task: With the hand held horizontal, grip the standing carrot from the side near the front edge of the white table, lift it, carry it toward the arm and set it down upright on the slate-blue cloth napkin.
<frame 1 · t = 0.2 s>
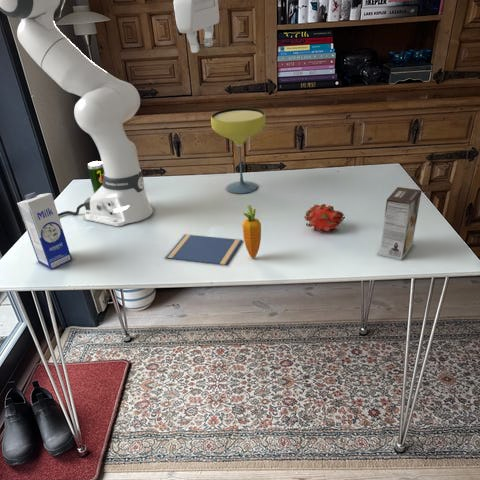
hand: (202, 49, 121), 48 cm above the table, tool pointing down, fingers open, 8 cm apart
carrot: (253, 259, 131), on the table
napkin: (204, 249, 136), on the table
milk carton: (55, 261, 136), on the table
coffee box: (395, 251, 130), on the table
beer can: (102, 197, 173), on the table
cocktail glass: (242, 188, 172), on the table
dragon fruit: (324, 229, 142), on the table
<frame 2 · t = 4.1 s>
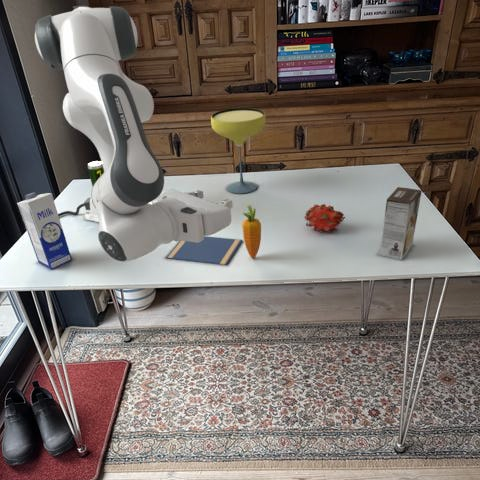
hand: (215, 198, 111), 22 cm above the table, tool horizontal, fingers open, 8 cm apart
nothing on the table moved.
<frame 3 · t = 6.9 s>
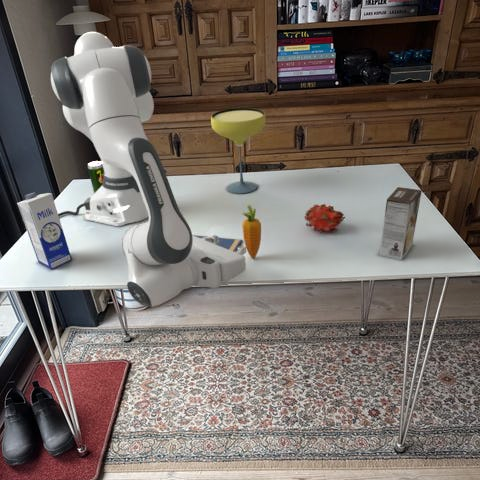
hand: (230, 243, 121), 8 cm above the table, tool horizontal, fingers open, 8 cm apart
nothing on the table moved.
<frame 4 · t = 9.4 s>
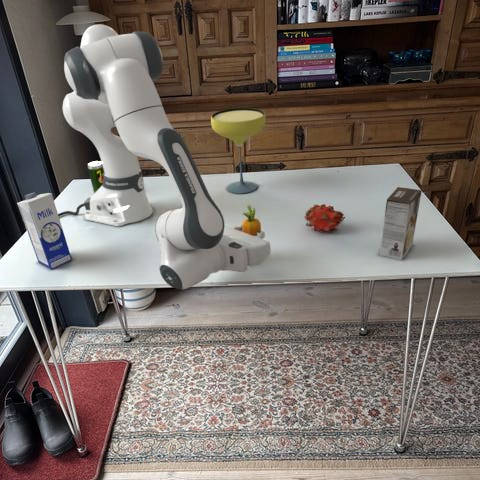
hand: (254, 230, 126), 8 cm above the table, tool horizontal, fingers closed on carrot, 5 cm apart
carrot: (253, 259, 131), on the table, touching gripper
everything else where it was.
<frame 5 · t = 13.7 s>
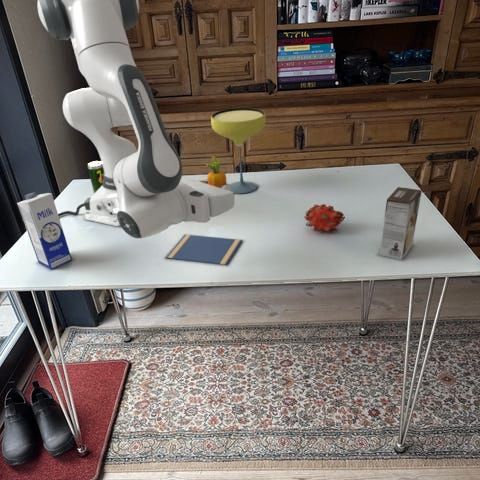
hand: (219, 184, 123), 20 cm above the table, tool horizontal, fingers closed on carrot, 5 cm apart
carrot: (220, 214, 127), point 12 cm above the table, touching gripper
everything else where it was.
when the fingers open (8 cm above the table, at t = 18.2 s): carrot stays where it is, resting on napkin.
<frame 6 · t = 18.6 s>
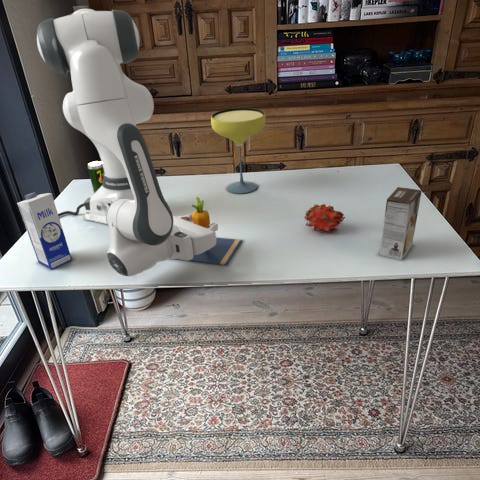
hand: (204, 221, 132), 8 cm above the table, tool horizontal, fingers open, 8 cm apart
carrot: (204, 249, 136), resting on napkin
everything else where it was.
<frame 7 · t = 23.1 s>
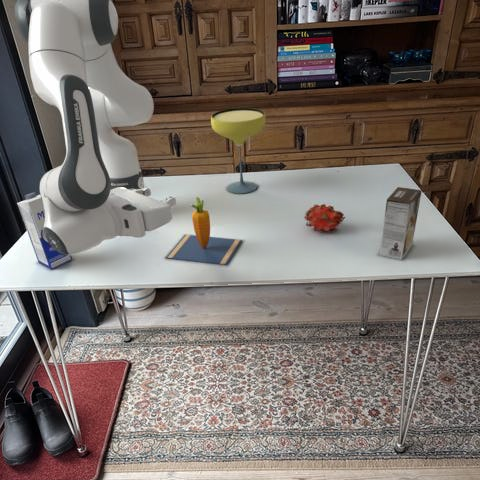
hand: (161, 195, 117), 20 cm above the table, tool horizontal, fingers open, 8 cm apart
nothing on the table moved.
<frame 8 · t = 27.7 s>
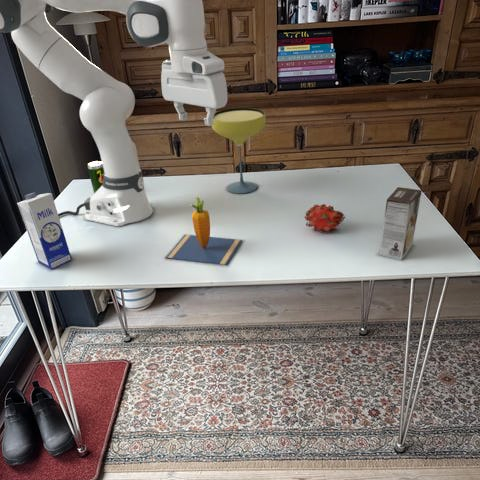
hand: (196, 122, 121), 33 cm above the table, tool pointing down, fingers open, 8 cm apart
nothing on the table moved.
at the end: carrot inside the target area on the napkin (0.2 cm from its centre), point 0.2 cm above the napkin's base; carrot tilted 0°; carrot touching napkin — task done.
